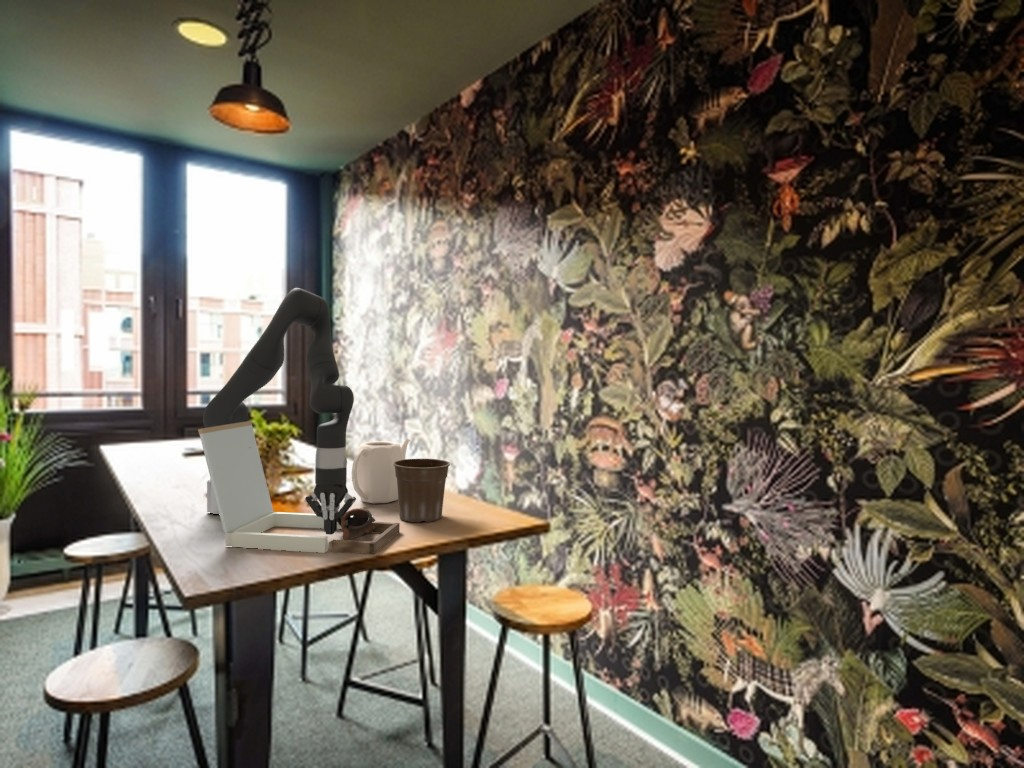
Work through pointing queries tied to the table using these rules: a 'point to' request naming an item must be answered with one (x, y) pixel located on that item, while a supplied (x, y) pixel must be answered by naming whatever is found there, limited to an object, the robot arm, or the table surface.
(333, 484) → the robot arm
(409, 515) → the plant pot
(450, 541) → the table surface
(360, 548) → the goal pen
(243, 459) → the cold frame
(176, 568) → the table surface
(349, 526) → the pottery mug
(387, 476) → the watering can
